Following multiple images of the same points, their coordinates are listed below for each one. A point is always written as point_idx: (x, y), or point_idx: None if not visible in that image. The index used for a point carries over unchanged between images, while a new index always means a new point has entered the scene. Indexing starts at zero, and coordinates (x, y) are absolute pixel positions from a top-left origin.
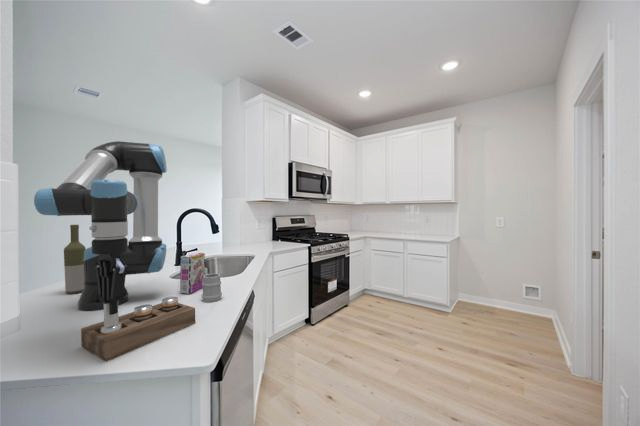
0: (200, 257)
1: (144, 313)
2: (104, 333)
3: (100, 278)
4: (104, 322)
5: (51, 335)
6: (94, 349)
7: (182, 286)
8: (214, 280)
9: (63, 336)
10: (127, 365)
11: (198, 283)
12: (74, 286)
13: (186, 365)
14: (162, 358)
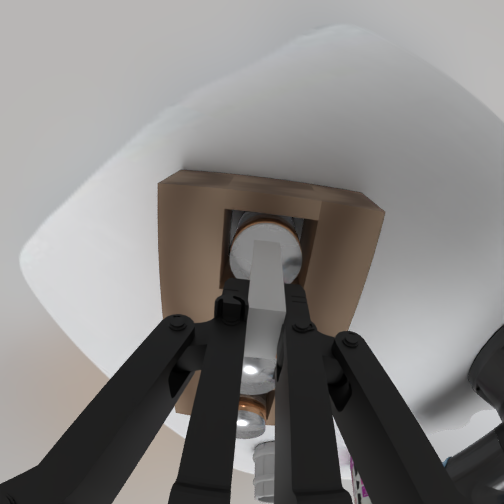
0: None
1: None
2: (253, 223)
3: (389, 455)
4: (273, 250)
5: (495, 210)
6: (262, 180)
7: None
8: (257, 489)
9: (468, 216)
10: (112, 187)
11: (351, 470)
12: None
13: (30, 244)
14: (79, 242)
